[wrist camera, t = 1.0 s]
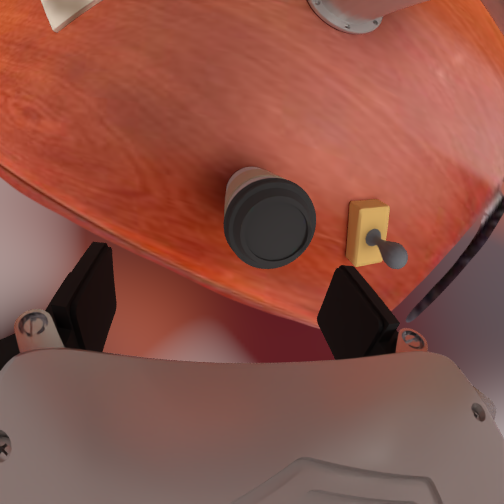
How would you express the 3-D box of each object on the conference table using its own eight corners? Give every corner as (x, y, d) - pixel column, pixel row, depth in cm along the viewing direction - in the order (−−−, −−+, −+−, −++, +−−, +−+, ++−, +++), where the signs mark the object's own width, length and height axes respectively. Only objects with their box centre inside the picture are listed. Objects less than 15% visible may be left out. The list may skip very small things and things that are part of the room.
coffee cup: (210, 214, 38) (215, 269, 25) (227, 151, 34) (241, 171, 21) (271, 227, 41) (304, 284, 27) (290, 168, 37) (338, 199, 24)
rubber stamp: (348, 201, 41) (392, 231, 30) (378, 198, 41) (425, 226, 31) (344, 257, 45) (380, 297, 35) (372, 252, 46) (411, 289, 35)
